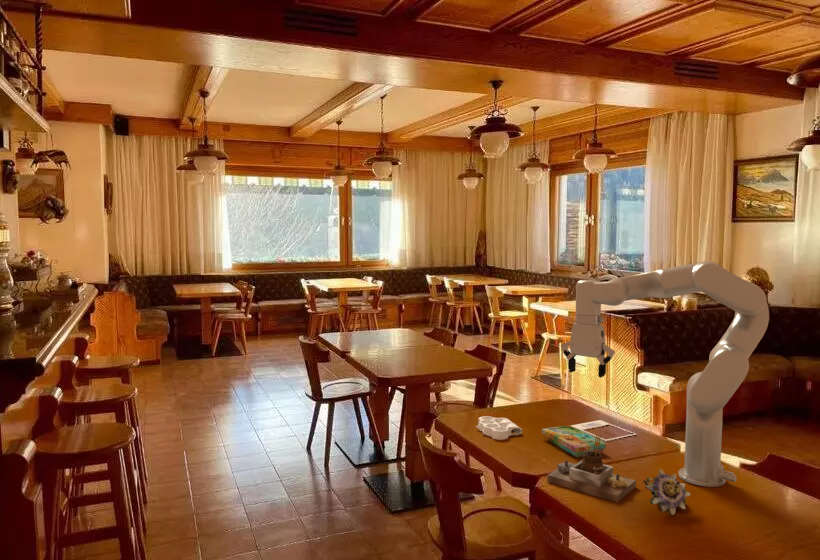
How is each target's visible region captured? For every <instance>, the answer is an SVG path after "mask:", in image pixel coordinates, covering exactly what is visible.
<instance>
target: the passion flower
mask: <svg viewBox="0 0 820 560" xmlns="http://www.w3.org/2000/svg"><path fill="white" fill-rule="evenodd" d="M652 480H653V481H652ZM679 480H680V479H679V478H677V474H676V473H673V474H671V475H669V474H668V473H665V472H664V470H663V469H661V468H660V469H659V470H658V474H657V475H656V477H654V478H652V477H649V476H647V477H646V479H644V480H643V482H644V485H646V486H644V487H645V489H647V490H649V492H650V494H651V495H652V497H650V499H649V503H650V505H657V504H658V506H659V509H660V511H661V512H662V513H664V512H666V511H667V513H669V514H670V516H674V515H675V514H676V509H677V507H678V508H679V509H682V510H686V503H687V499H686V498H688V497H690V496H691V494H692V493H691V492H688V491H687V490H686V486H687V485H686V483H683V482H682V483H681V482H680V481H679ZM651 481H652V482H651Z"/></svg>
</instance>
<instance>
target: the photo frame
mask: <svg viewBox="0 0 820 560" xmlns="http://www.w3.org/2000/svg"><path fill="white" fill-rule="evenodd" d="M606 425H611V426H610V427H612V426H614V427H617V428H619V429H621V430H620V431H622V430H624V431H623V432H625V431H627V432H630V433H633V434H630V433H629V434H626V435H623V436H617V437H613V438H608V439H607V438H606V439H605V438H603V437H601V439H600V440H601V441H603V442H604V443H607V441H608V442H611V440H612V441H616V440H615V439H617V440H620V439H619V438H622V439H624V438H623V437H627V436H632V435H636V436H637V433H635V432H632V431H629V430H628V429H624V428H623V427H619V426H618V425H614V424H611V423H610V422H607V421H604V420H602V419H599V420H598V419H597V420H593V421H589V422H584V423H583V422H582V423H577V424H572V425H570V426H572V427H574V428H576V429H578V430H580V431H582V432H584V433H586V434H588V435H591V436H593V437H596V434H594V433H591V432H589V431H588V429H589V430H593V429H592V428H594V429H599V428H602V426H604V427H607V426H606ZM598 427H599V428H598ZM614 427H613V428H614ZM617 428H616V429H617ZM619 429H618V430H619ZM627 432H626V433H627ZM597 437H598V435H597ZM632 437H633V436H632ZM627 438H628V437H627Z"/></svg>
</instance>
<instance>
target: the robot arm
mask: <svg viewBox="0 0 820 560" xmlns="http://www.w3.org/2000/svg"><path fill="white" fill-rule="evenodd" d="M696 293H697V294H698V293H703V294H705V295H706V296H708V297H710V298H712V299H713V300H715V301H716V302H718V303H720V304H722V305H724V306H726V307H728V308H729V309H731V310H732V311H734V316H733V317H734V318H733V319H732V321H731V323H730V324H729V327H728V328H727V330H726V331H725V332H724V334H723V335H722V337H721V338H720V340H718V342H717V343H716V345H715V346H714V347H713V348H712V350H711V351H710V352H709V357H708V361H709V362H708V363H707V364H706V366H705V368H704V369H703V370H702V371H699V372H696V373H695V374H693V375H691V376H690V378H689V379H688V381H687V383H686V415H685V417H686V419H685V438H684V439H685V440H684V441H685V442H684V445H685V446H684V466H683V467H682V468H680V469H679V470H678V477H679V478H680V479H681V480H683V481H685V482H686V483H689V484H692V485H695V486H700V487H708V488H711V487H712V488H716V487H717V488H718V487H721V486H724V485H725V484H726V482H727V481H728V482H733V483H736V482H737V475H736V474H735V473H734V472H731V471H728V470H726V469H724V465H723V464H721V461H722V460H721V458H722V440H723V439H722V437H723V436H722V435H723V432H722V431H723V413H724V412H723V410H724V409H723V408H724V407H725V405H727V403H728V402H729V401H730V399H731V398H732V397H733V395H734V394H735V392H736V391H737V390H738V389H739V387H740V386H741V384H742V383H743V381H744V380H745V379H746V377H747V375H748V372H749V370H750V363H749V358H750V356H751V355H752V353H753V352H754V350H755V349H756V348H757V346H758V344H759V343H760V341H761V340H762V338H763V337H764V335H765V333H766V331H767V329H768V325H769V321H770V311H769V310H770V309H769V305H768V302H767V295H766V293H765V292H764V290H763V289H762V288H761V287H759V286H758V284H755V283H753V282H751V281H748V280H746V279H744V278H742V277H740V276H738V275H736V274H735V273H732V272H731V271H729V270H728V269H726V268H724V267H723V266H721V265H719V264H718V263H717V262H714V261H711V260H710V261H709V260H707V261H706V260H705V261H699V262H693V263H689V264H683V265H678V266H673V267H668V268H662V269H657V270H653V271H649V272H644V273H639V274H633V275H628V276H627V275H626V276H620V277H616V278H613V279H610V280H608V281H599V280H594V279H580V280H578V281H577V282H576V285H575V318H574V319H575V321H574V323H573V325H572V328H571V333H570V334H571V335H570V340H569V341H567V342H564V343H562V344H561V345H560V347H561V350H562V353H563V355H564V356H565V357H566V359H567V361H568V362H567V363H568V364H567V366H568V367H567V368H568V372H569V373H574V372H575V371H576V366H577V365H576V363H577V362H576V358H575V357H576V356H580V357H586V358H587V357H588V358H596V359H597V361H598V362H599V364H598V375H597V376H598V378H603V377H605V376H606V374H607V364H608V363H609V362H610V361H611V360H612V359H613V357H614V356H615V353H616V351H615V349H613V348H611V347H610V346H608V345H606V344H607V343H606V333H605V327H604V324H602V323H605V321H606V318H605V317H603V316H602V313H601V312H602V311H601V310H602V305H605V306H610V307H611V306H612V307H616V306H619V305H622V304H623V303H624V302H627V301H631V300H638V299H643V298H644V299H645V298H659V299H663V298H664V299H666V298H667V299H668V298H673V297H678V296H685V295H690V294H696ZM568 347H569V349H568ZM606 352H607V356H605V355H606Z"/></svg>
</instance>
